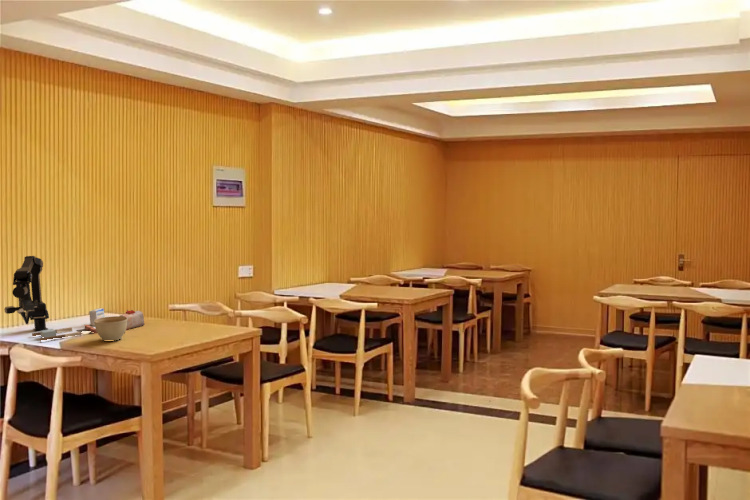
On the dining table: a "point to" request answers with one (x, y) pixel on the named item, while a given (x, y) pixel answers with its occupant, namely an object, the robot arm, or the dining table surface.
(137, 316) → the food item
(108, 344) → the dining table surface
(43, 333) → the block
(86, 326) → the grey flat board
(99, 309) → the medicine box
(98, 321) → the planter bowl
